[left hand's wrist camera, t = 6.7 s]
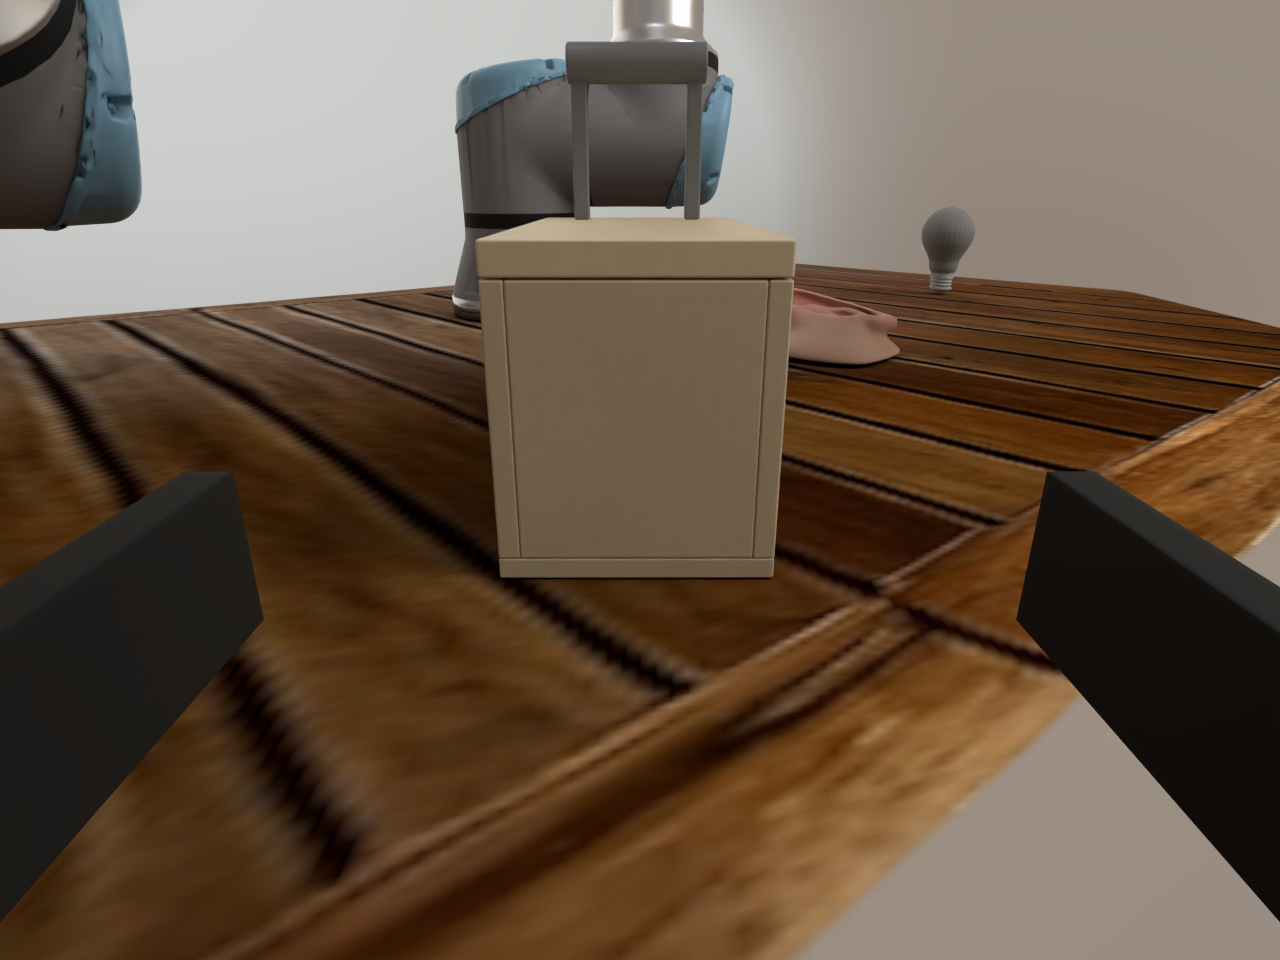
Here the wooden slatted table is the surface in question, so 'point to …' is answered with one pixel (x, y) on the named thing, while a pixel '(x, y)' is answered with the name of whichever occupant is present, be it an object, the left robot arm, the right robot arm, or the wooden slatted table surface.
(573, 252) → the lid
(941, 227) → the light bulb
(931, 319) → the wooden slatted table surface
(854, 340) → the anatomical model
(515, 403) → the chest
